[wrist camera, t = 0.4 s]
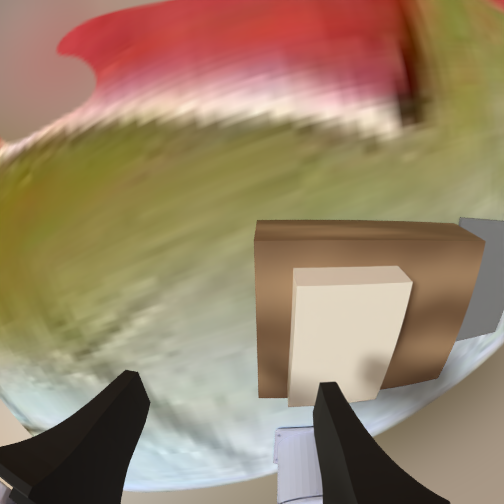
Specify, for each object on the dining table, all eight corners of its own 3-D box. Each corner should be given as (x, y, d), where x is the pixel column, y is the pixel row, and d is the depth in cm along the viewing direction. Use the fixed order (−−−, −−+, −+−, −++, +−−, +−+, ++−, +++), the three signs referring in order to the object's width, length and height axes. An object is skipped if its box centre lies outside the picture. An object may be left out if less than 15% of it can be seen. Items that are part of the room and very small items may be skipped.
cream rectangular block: (368, 379, 17) (375, 398, 15) (287, 385, 18) (288, 406, 16) (397, 265, 14) (412, 282, 12) (293, 268, 14) (296, 286, 13)
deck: (421, 349, 21) (437, 378, 17) (260, 362, 22) (258, 398, 18) (454, 223, 17) (485, 241, 13) (257, 220, 18) (254, 240, 14)
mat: (493, 330, 20) (494, 331, 20) (426, 344, 21) (428, 346, 21) (525, 223, 16) (527, 224, 16) (459, 217, 17) (462, 218, 16)
